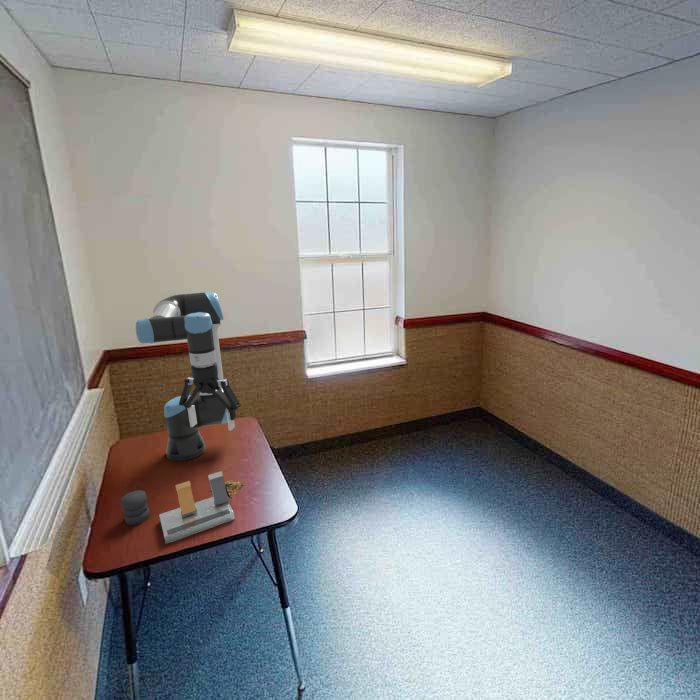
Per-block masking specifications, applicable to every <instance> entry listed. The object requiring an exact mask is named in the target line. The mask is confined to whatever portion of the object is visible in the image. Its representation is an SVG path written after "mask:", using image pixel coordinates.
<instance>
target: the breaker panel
mask: <svg viewBox="0 0 700 700" xmlns="http://www.w3.org/2000/svg"><path fill="white" fill-rule="evenodd" d="M194 504H195V507H196V509H197V512H195V513H192V514H189V515H186V516H183V517H182V516H181V508H180V507H178V508H174V509H171V510H168V511H166V512H162V513H160V514H158V515H159V522H160V524H161V529H162V534H163V538H164V541H165V545H167V544H171V543H173V542H177V541H179V540H182V539H184V538H187V537H189V536H193V535H195V534H199V533H200V532H204V531H207V530H209V529H211V528H215V527H217V526H220V525H223V524H226V523H228V522H231V521H234V520H235V511H234V510H233V509H232V506H231V504H230V502H229V501H227V502H224V503H221V504H219V505H216V506H215V504H214V498H213V496H211V497H208V498H205V499H202V500H200V501H196V502H194Z"/></svg>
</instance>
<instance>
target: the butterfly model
mask: <svg viewBox="0 0 700 700" xmlns="http://www.w3.org/2000/svg"><path fill="white" fill-rule="evenodd" d="M224 484H225V488H226V492H227V494H228V495H229V498H230V499H233V497H234V496H235V495H236V494H237V493H238V492H239V491H240V490H241V489H242V488H244V487H245V484H244V482H242V481H235V480H234V479H230V480H227V481H224ZM210 491H211V492H212V489H211V488H210V489H208V492H210Z"/></svg>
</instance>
